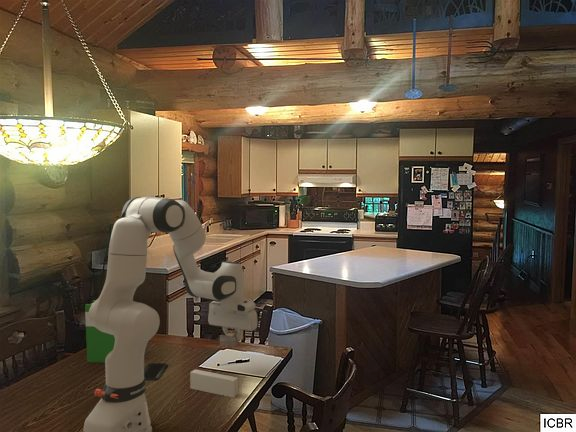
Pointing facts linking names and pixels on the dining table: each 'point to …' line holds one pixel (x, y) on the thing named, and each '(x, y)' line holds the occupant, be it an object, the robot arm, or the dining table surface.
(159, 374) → the phone
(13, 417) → the dining table surface
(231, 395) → the white rectangular block
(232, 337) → the pusher
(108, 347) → the hardback book
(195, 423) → the dining table surface
